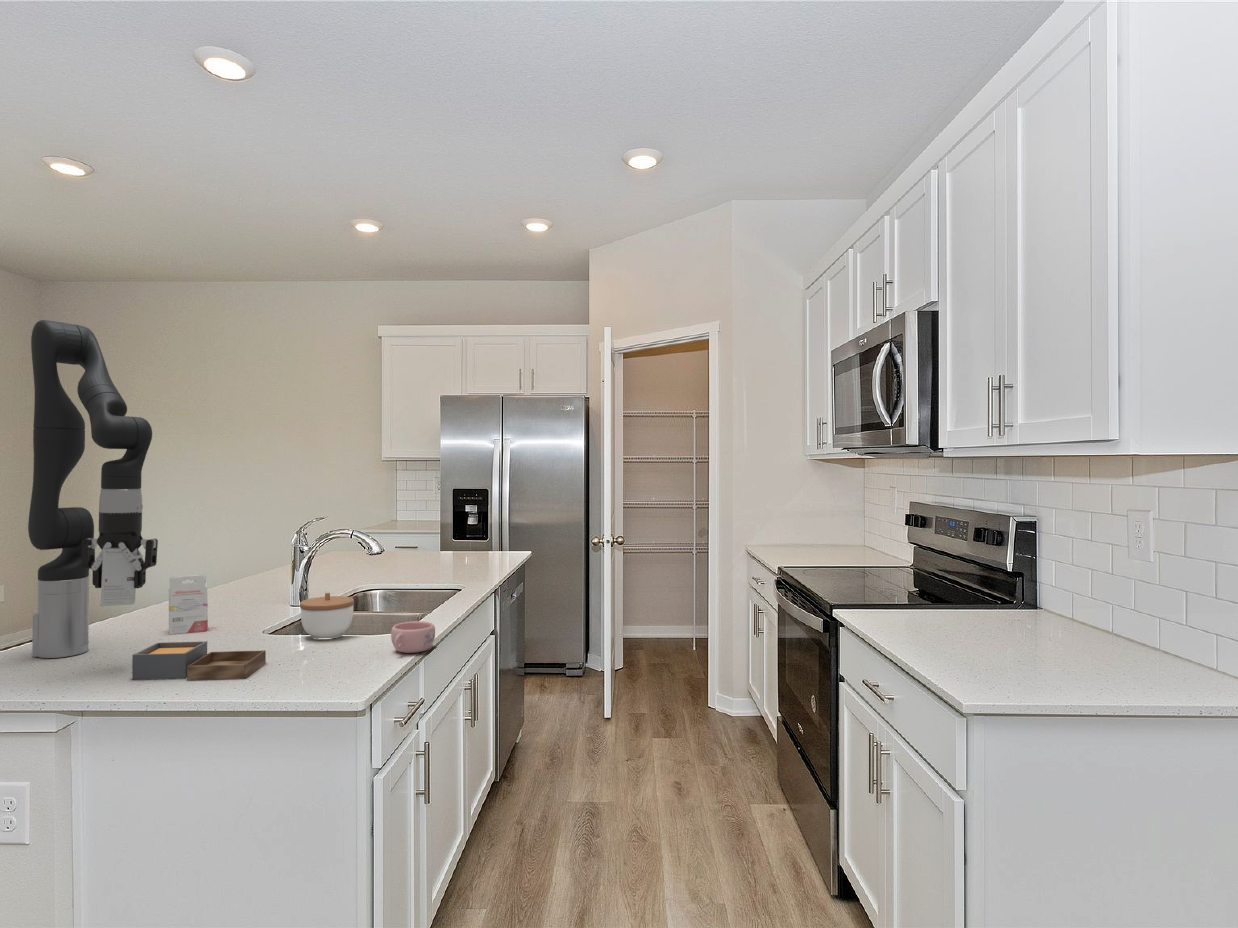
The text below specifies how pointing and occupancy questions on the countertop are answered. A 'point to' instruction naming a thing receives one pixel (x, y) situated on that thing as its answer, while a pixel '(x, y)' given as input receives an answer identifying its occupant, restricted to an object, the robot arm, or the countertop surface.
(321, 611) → the lidded bowl
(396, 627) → the mug
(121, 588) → the skincare box
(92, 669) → the countertop surface
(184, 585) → the ink cartridge box
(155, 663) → the tray
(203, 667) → the wooden square tray
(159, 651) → the orange flat square block
